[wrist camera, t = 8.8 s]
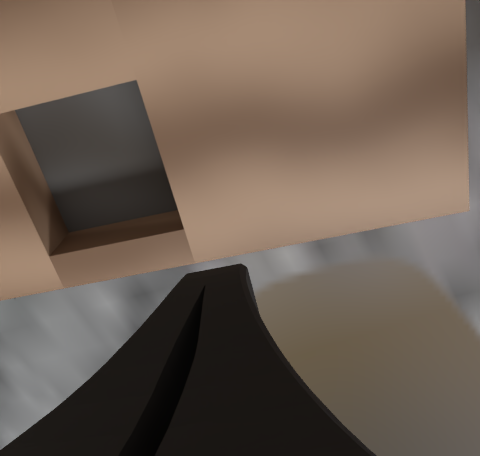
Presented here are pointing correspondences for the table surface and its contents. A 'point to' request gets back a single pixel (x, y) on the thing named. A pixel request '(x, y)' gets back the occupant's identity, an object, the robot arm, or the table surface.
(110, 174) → the deck
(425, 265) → the table surface
